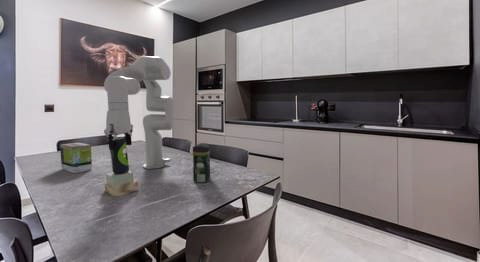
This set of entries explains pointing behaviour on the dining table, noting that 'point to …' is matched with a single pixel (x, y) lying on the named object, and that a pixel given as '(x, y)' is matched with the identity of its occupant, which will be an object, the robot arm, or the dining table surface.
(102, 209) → the dining table surface
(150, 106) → the robot arm
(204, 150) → the coffee jar
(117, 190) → the beech base brick
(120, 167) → the beverage can
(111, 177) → the sage brick
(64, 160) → the tea box
